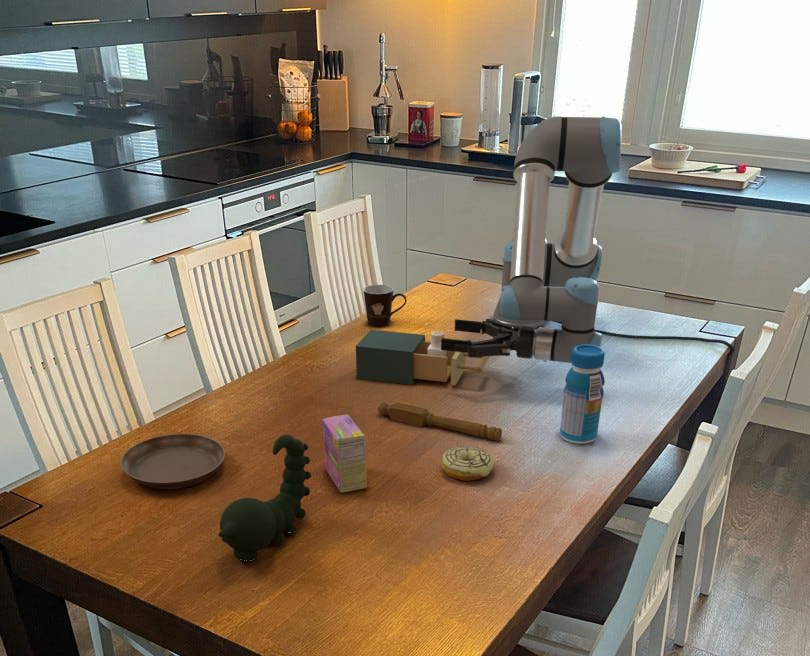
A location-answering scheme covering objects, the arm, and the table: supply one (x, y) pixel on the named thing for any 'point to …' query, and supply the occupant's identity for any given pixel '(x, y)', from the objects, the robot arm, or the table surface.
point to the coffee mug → (380, 304)
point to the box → (345, 453)
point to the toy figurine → (268, 507)
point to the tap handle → (436, 420)
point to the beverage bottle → (583, 395)
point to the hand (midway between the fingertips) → (448, 334)
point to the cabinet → (387, 356)
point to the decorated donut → (467, 463)
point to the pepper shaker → (436, 344)
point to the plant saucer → (173, 460)
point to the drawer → (441, 364)
